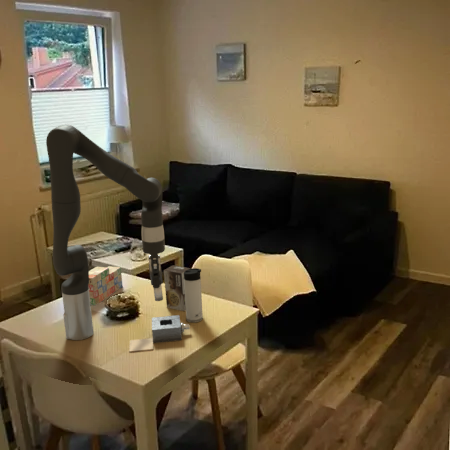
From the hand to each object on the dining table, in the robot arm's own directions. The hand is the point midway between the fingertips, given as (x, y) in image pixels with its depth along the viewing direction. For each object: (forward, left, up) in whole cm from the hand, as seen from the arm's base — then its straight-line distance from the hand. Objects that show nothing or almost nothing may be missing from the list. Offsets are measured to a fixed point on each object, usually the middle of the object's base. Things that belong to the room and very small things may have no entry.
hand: (155, 284), depth 184 cm
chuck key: (+1, 0, -5) cm, 6 cm away
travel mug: (+14, +12, -20) cm, 27 cm away
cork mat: (-6, -5, -20) cm, 21 cm away
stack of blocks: (-23, +45, -20) cm, 54 cm away
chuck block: (+4, +1, -20) cm, 20 cm away
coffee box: (+9, +25, -20) cm, 33 cm away
